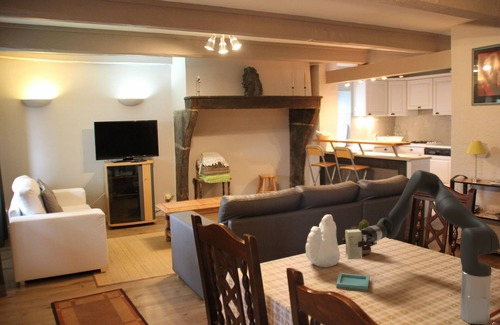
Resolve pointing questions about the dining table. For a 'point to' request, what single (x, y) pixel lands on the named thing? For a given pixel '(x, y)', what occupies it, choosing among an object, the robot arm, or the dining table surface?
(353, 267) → the dining table surface
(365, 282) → the teal tray
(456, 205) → the robot arm
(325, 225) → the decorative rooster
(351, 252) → the skincare box
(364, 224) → the flowerpot
